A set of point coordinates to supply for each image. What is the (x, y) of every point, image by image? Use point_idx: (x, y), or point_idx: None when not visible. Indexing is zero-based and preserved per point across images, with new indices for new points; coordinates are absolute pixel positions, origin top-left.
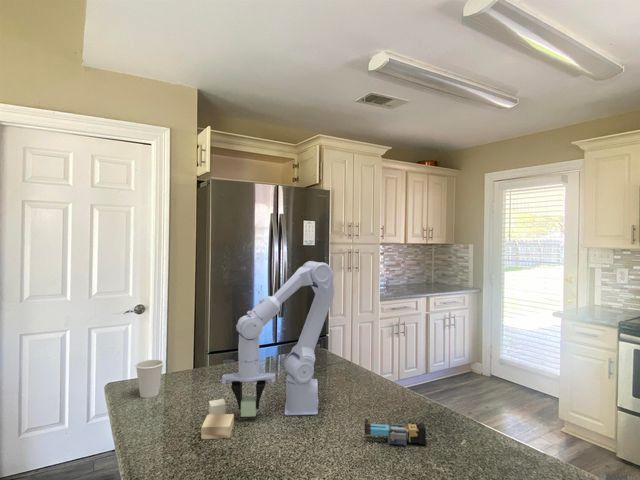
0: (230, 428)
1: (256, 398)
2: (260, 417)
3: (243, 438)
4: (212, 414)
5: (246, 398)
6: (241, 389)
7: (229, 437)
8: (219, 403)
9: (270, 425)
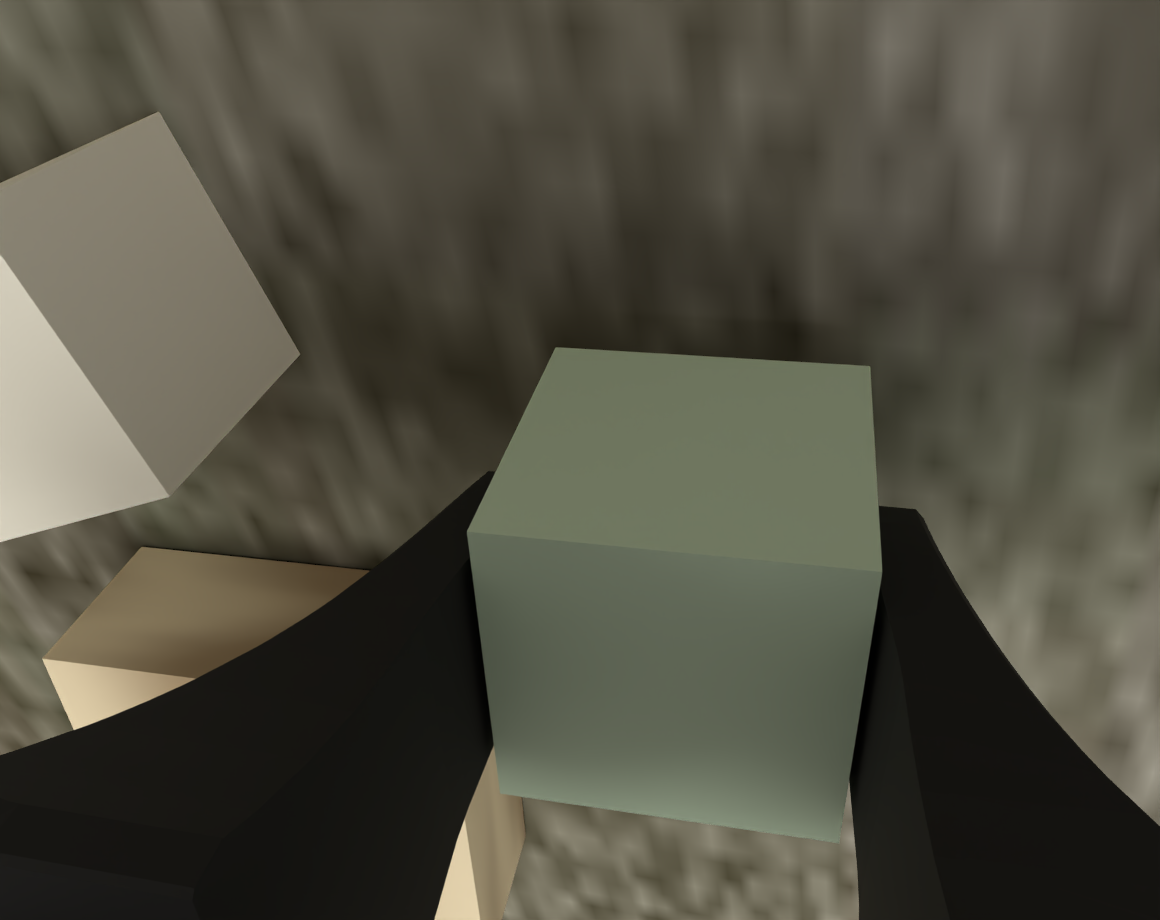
0: (498, 867)
1: (863, 880)
2: (936, 403)
3: (689, 863)
4: (112, 667)
5: (594, 669)
6: (378, 813)
7: (522, 843)
8: (27, 451)
9: (1089, 676)
